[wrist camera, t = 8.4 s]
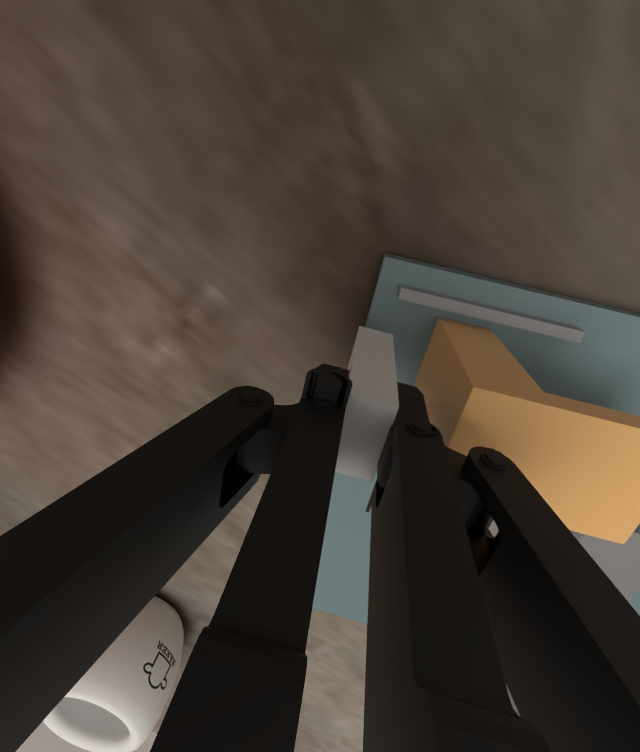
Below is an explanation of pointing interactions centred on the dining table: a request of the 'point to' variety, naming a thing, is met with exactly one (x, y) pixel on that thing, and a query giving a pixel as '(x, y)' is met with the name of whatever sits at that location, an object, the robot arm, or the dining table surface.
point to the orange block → (534, 430)
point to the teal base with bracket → (523, 340)
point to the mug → (124, 685)
